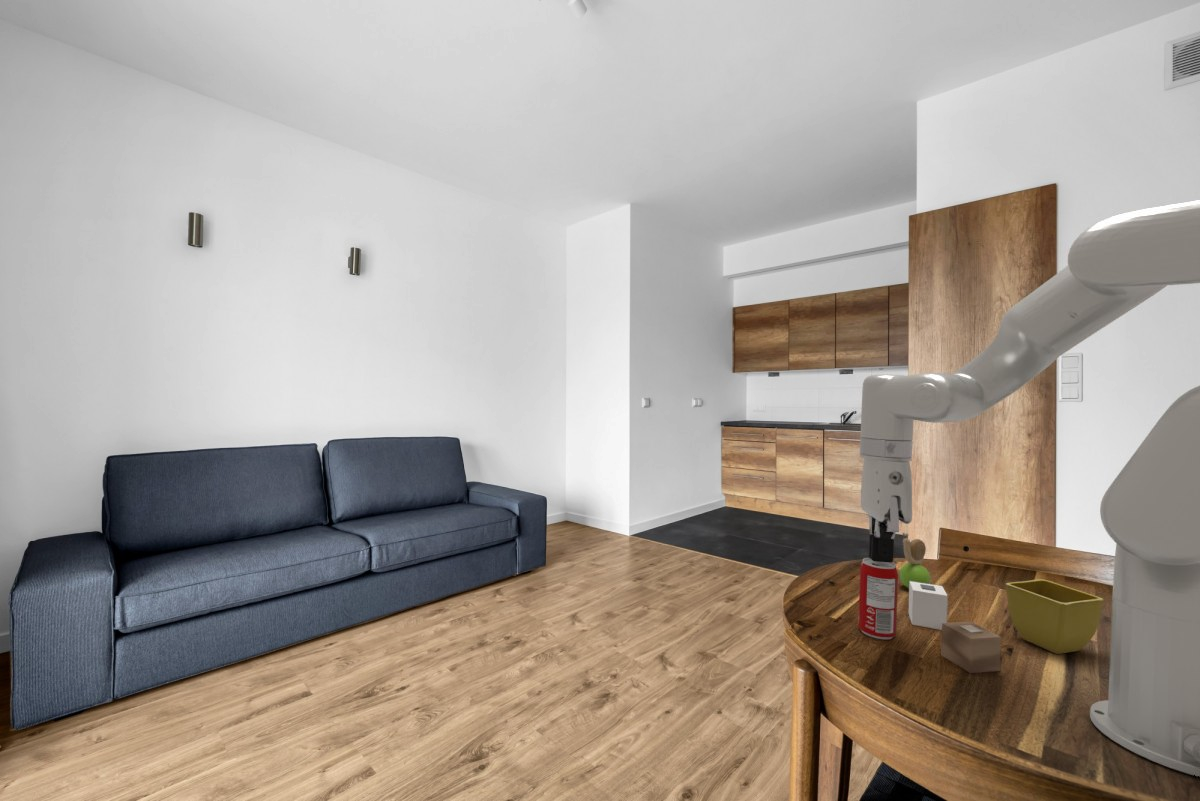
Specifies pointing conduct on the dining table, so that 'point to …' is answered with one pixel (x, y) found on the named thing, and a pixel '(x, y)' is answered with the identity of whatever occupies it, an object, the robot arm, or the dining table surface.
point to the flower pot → (1053, 614)
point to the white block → (927, 605)
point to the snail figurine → (914, 562)
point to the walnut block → (971, 647)
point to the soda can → (878, 599)
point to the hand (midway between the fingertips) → (880, 560)
